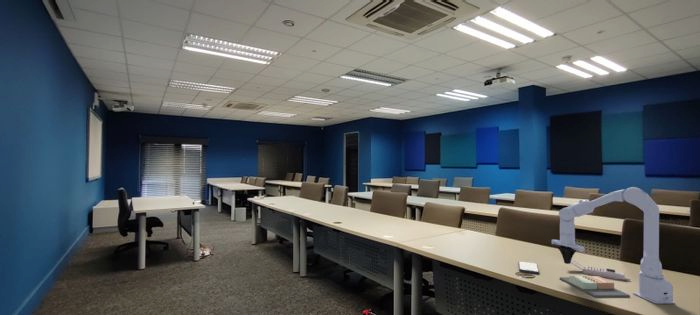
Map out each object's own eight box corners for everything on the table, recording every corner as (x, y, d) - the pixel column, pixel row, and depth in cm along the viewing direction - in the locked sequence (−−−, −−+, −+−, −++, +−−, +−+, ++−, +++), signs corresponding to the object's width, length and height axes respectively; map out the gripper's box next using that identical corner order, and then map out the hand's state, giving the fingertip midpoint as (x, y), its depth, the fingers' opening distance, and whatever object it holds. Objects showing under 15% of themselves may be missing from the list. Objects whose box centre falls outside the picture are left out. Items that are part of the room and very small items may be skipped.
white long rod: (565, 256, 163) (629, 265, 147) (565, 267, 163) (629, 278, 147) (563, 258, 158) (630, 269, 142) (564, 270, 158) (630, 282, 142)
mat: (629, 297, 126) (629, 295, 126) (594, 297, 126) (594, 295, 126) (589, 278, 146) (589, 277, 146) (559, 279, 146) (559, 277, 146)
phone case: (518, 264, 169) (518, 272, 155) (518, 261, 170) (518, 269, 155) (537, 266, 165) (539, 275, 151) (537, 263, 166) (539, 272, 151)
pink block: (614, 288, 132) (614, 282, 132) (598, 289, 132) (598, 282, 132) (598, 281, 140) (598, 275, 140) (583, 281, 140) (583, 275, 140)
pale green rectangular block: (597, 289, 132) (597, 282, 132) (583, 289, 132) (583, 282, 132) (582, 281, 140) (582, 275, 140) (569, 281, 140) (569, 276, 140)
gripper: (589, 236, 139) (589, 267, 139) (559, 230, 153) (559, 258, 153) (577, 237, 137) (577, 268, 137) (548, 230, 151) (548, 259, 151)
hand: (567, 263), depth 145 cm, fingers closed
